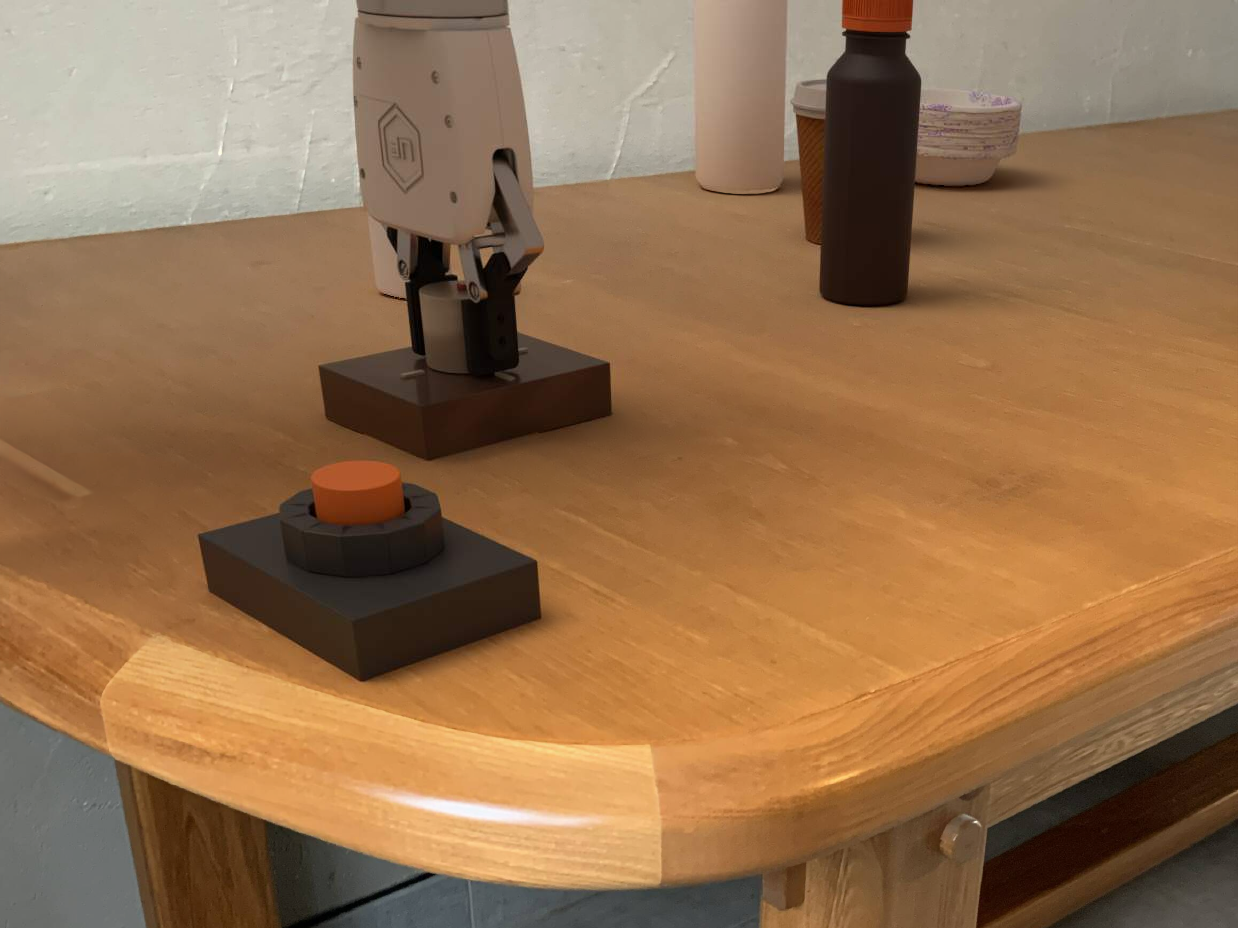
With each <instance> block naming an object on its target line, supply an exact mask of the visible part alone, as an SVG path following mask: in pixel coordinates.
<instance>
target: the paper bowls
mask: <svg viewBox="0 0 1238 928" xmlns="http://www.w3.org/2000/svg"><path fill="white" fill-rule="evenodd" d="M1022 109H1023V106H1022V103H1021V101H1019V100H1016V99H1014V98H1012V97H1008V96H1004V95H999V94H994V93H989V92H988V93H987V92H980V91H975V90H966V89H965V90H964V89H954V88H943V87H921V97H920V112H919V128H918V143H917V158H916V173H915V182H917V183H916V184H921V183H922V184H921V185H927V184H931V185H930V186H939V185H944V186H943V187H966V186H965V185H969V186H976V184H977V185H980V184H983V183H985V182H987V181H988V180H989V179H992V176H993V175H994V173H995V171H996V170H997V167H998V165H999V164H1000V161H1001V159H1006V158H1010V157H1012V156H1015V155H1016V153H1017V148H1018V146H1017V145H1018V144H1019V133H1020V125H1021V118H1022Z"/></svg>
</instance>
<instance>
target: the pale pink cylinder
mask: <svg viewBox="0 0 1238 928" xmlns="http://www.w3.org/2000/svg"><path fill="white" fill-rule="evenodd" d="M693 17H694V18H693V25H694V26H693V28H694V29H693V33H694V35H693V39H694V41H693V44H694V47H693V49H694V51H693V54H694V59H693V60H694V163H695V164H694V165H695V166H694V171H695V173H694V175H695V179H696V181H697V183H698V182H699V183H700V184H701V185H704V186H707V187H712V188H717V189H726V190H741V191H744V190H745V191H749V190H764V189H772V188H776V187H779V188H780V186H781V184H783V181H784V176H785V175H784V173H785V172H784V171H785V170H784V169H785V132H786V131H785V129H786V128H785V126H786V123H785V121H786V88H787V87H786V83H787V82H786V79H787V41H788V39H787V35H788V0H693ZM699 183H698V184H699Z"/></svg>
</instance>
